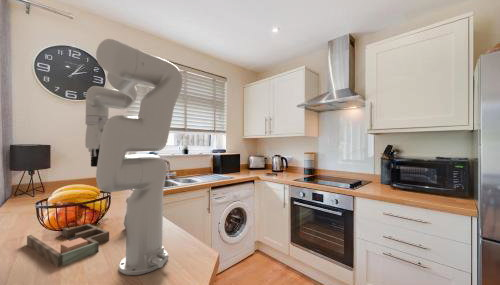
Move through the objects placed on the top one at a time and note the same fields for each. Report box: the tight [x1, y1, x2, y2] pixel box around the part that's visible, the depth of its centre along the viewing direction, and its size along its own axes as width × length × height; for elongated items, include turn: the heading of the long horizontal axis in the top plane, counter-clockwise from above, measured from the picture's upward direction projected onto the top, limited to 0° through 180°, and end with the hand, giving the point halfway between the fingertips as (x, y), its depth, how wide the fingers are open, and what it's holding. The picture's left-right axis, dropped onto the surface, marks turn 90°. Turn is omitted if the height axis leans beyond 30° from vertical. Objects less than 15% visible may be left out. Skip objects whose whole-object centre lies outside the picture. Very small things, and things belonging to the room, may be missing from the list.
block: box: [59, 238, 88, 254], centre depth 64 cm, size 5×5×4 cm
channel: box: [26, 223, 110, 268], centre depth 71 cm, size 27×16×3 cm, turn 60°
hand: (96, 166), depth 83 cm, fingers closed
